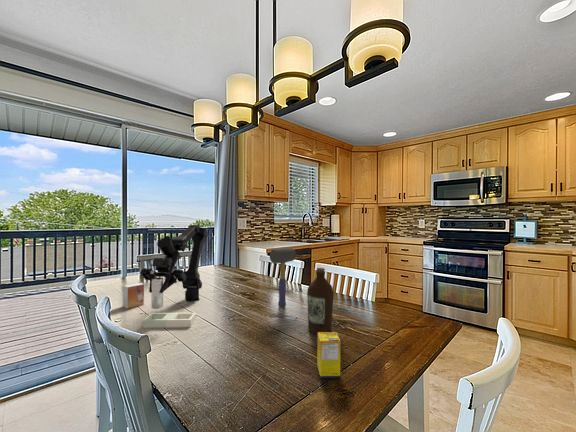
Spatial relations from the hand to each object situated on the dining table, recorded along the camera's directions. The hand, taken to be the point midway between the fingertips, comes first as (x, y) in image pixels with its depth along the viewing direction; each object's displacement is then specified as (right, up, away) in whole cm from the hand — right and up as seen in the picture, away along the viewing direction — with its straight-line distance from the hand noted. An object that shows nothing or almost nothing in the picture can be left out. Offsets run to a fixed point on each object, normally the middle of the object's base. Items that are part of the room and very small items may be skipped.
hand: (155, 292), depth 114 cm
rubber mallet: (+52, -14, +23) cm, 59 cm away
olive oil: (+68, -15, -3) cm, 70 cm away
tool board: (+5, -13, +2) cm, 15 cm away
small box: (-22, -13, +23) cm, 35 cm away
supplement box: (+67, -15, -33) cm, 76 cm away
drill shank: (0, -7, +1) cm, 7 cm away
